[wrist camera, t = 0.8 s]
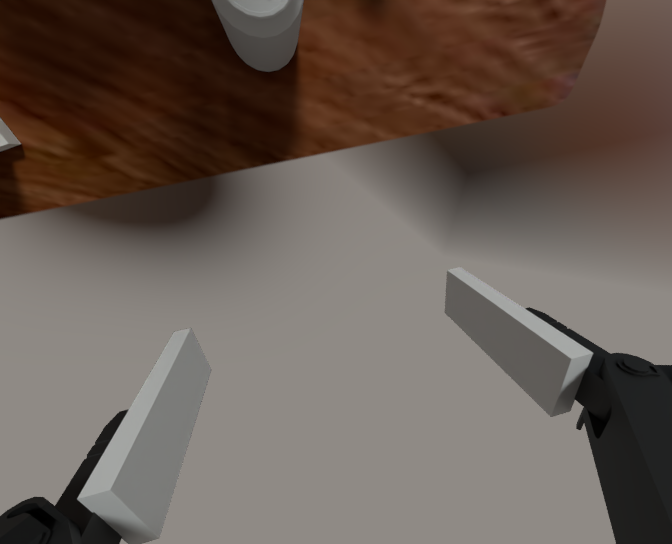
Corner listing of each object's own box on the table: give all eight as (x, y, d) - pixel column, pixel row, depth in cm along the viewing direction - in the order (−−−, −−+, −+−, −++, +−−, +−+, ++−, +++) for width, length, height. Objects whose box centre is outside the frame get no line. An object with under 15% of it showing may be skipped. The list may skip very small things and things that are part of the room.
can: (245, -35, 26) (221, -167, 16) (310, 23, 29) (327, -55, 18) (214, 41, 28) (174, -29, 17) (277, 89, 31) (276, 53, 20)
